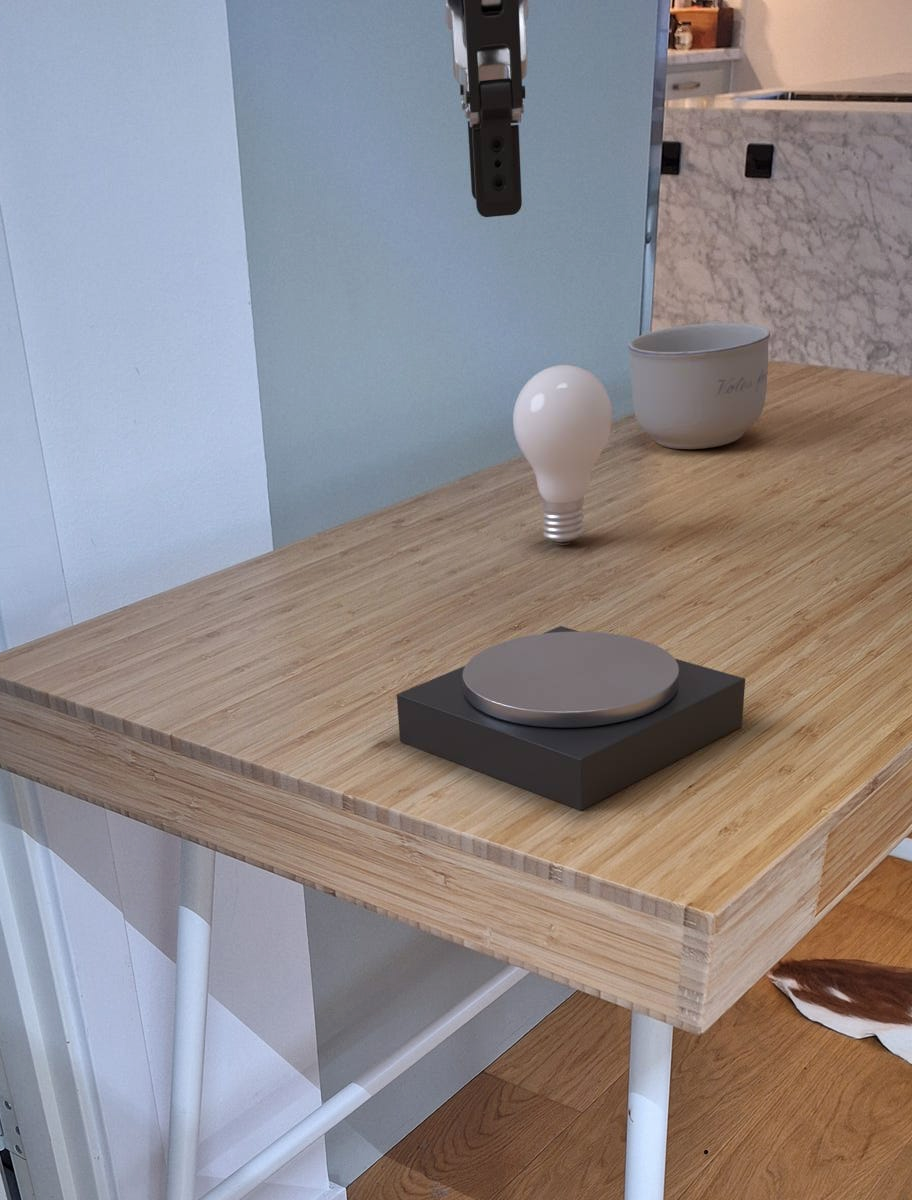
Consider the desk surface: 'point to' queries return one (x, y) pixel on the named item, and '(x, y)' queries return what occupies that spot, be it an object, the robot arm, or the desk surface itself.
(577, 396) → the lightbulb
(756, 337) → the teacup
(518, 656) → the scale pan
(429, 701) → the scale
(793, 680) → the desk surface
